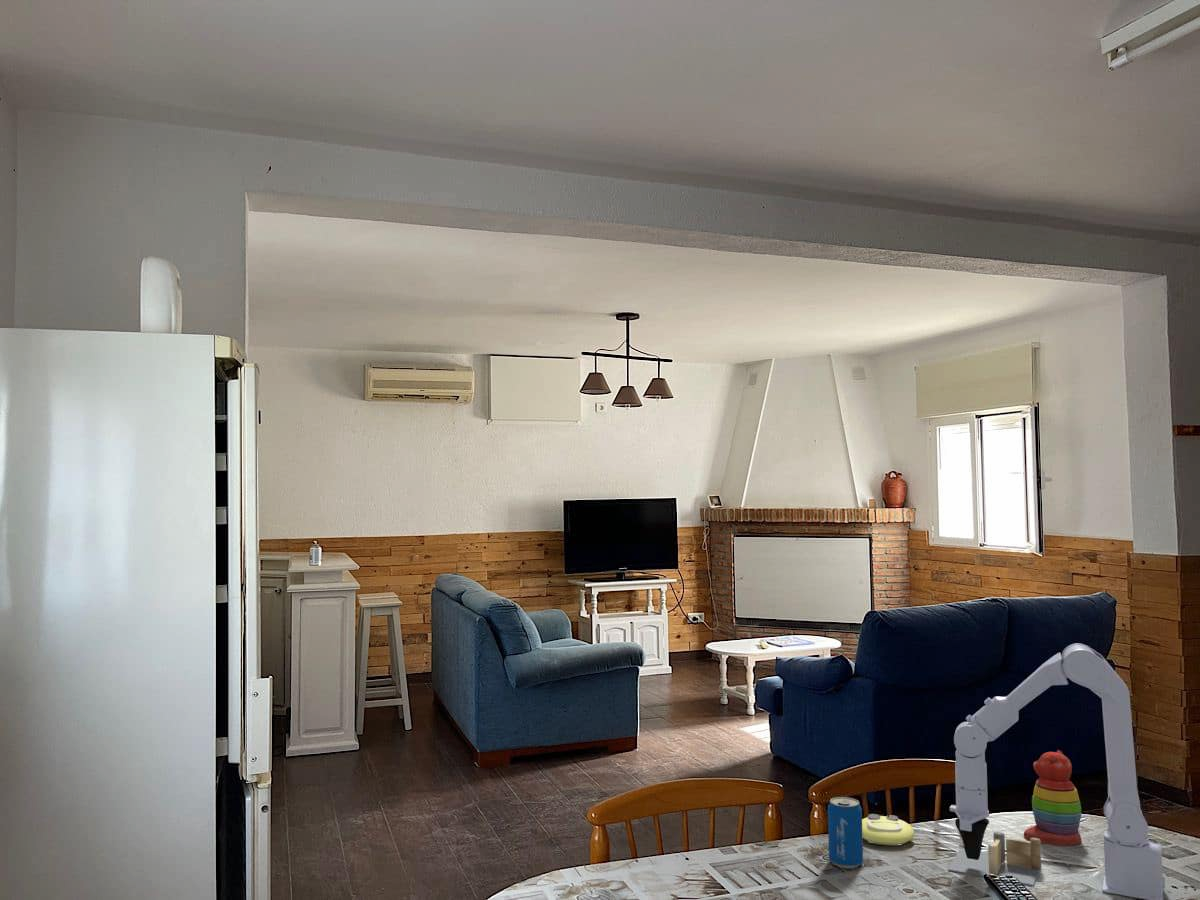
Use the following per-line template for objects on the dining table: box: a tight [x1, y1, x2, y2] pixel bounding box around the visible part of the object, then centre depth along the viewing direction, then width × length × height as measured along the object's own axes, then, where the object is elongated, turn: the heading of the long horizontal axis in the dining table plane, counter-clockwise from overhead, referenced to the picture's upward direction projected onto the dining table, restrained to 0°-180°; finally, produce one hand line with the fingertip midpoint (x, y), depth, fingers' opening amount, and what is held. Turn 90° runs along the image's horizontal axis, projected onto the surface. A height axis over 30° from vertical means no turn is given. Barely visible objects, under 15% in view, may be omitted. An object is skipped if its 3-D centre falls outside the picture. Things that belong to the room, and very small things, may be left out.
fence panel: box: [987, 831, 1006, 874], centre depth 183 cm, size 9×2×5 cm, turn 149°
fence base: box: [1005, 837, 1042, 871], centre depth 184 cm, size 6×2×5 cm, turn 59°
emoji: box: [862, 813, 916, 846], centre depth 201 cm, size 4×12×12 cm
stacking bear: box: [1023, 749, 1082, 846], centre depth 201 cm, size 11×10×18 cm
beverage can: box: [827, 796, 864, 869], centre depth 187 cm, size 6×6×12 cm
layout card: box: [947, 847, 1040, 887], centre depth 184 cm, size 15×13×1 cm
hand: (973, 858), depth 184 cm, fingers closed
